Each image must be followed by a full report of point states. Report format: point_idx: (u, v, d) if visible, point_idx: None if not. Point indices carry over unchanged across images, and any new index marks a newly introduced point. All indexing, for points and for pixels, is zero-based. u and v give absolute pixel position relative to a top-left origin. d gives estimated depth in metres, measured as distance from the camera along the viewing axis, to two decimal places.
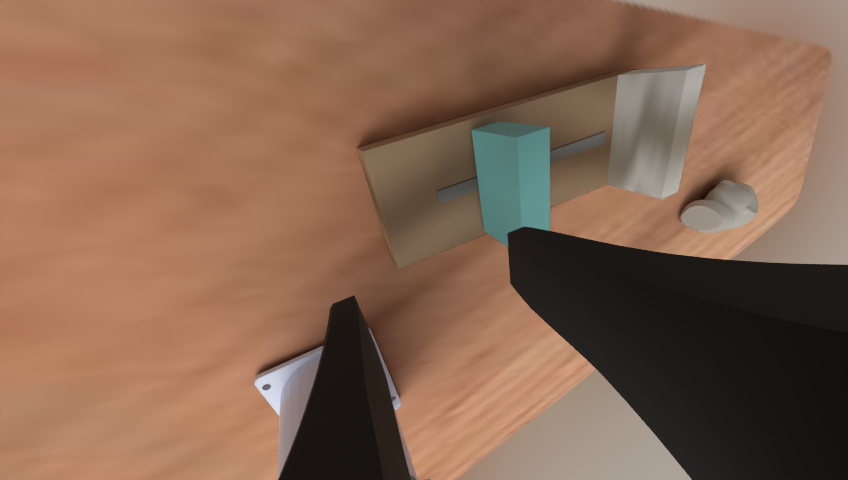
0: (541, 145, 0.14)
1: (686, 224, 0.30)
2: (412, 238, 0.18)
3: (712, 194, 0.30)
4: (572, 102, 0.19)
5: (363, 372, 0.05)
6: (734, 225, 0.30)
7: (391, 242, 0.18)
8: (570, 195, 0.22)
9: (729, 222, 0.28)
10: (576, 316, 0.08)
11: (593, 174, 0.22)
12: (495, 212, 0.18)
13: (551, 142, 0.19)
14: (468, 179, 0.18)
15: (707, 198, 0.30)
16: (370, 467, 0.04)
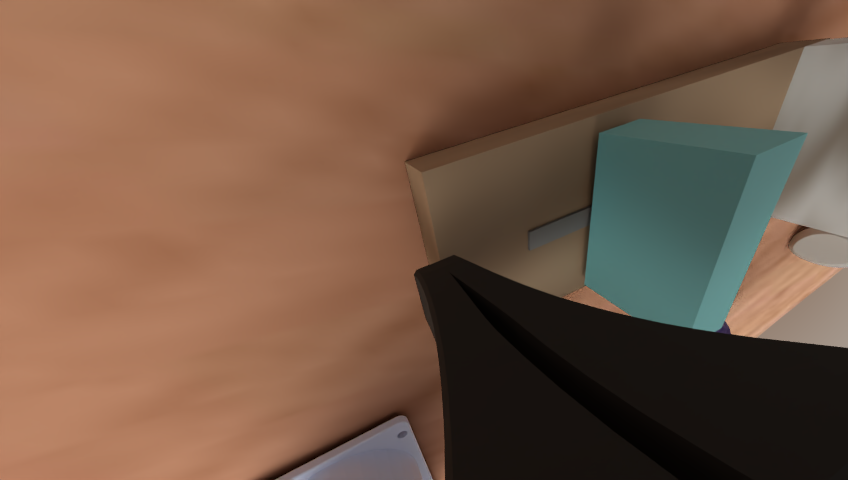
0: (781, 168, 0.07)
1: (801, 255, 0.24)
2: None
3: None
4: (737, 89, 0.12)
5: (482, 316, 0.06)
6: None
7: None
8: None
9: None
10: None
11: None
12: (625, 267, 0.11)
13: None
14: (576, 211, 0.11)
15: None
16: (535, 376, 0.04)
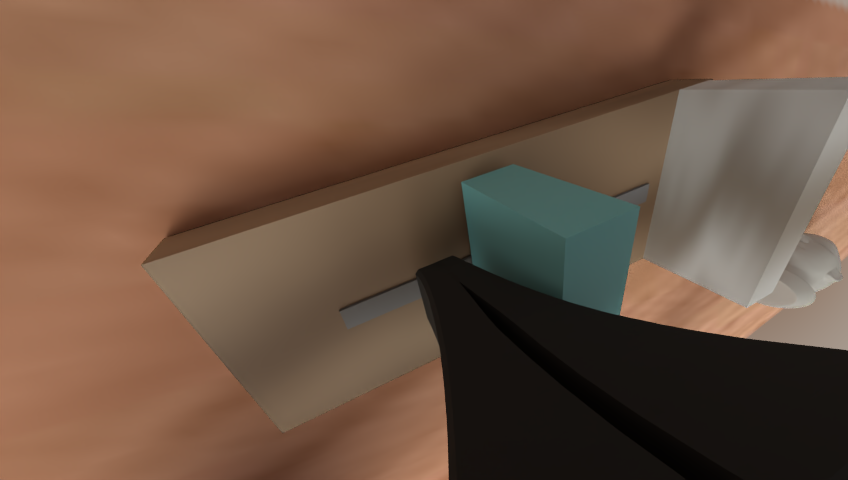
0: (616, 245, 0.06)
1: None
2: (302, 386, 0.10)
3: None
4: (597, 139, 0.10)
5: (485, 315, 0.06)
6: None
7: (258, 400, 0.10)
8: None
9: (807, 300, 0.20)
10: None
11: None
12: None
13: None
14: (403, 283, 0.10)
15: None
16: (538, 375, 0.04)
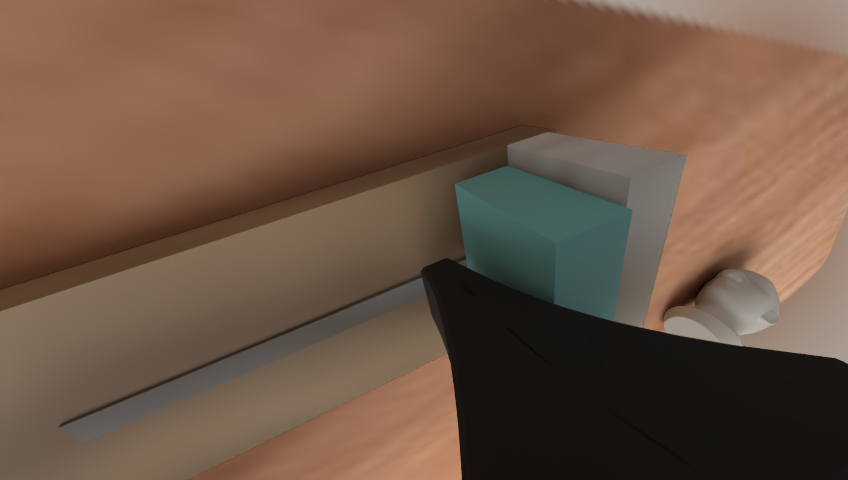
0: (608, 249, 0.06)
1: None
2: None
3: (709, 294, 0.20)
4: (400, 208, 0.09)
5: (491, 311, 0.06)
6: None
7: None
8: (441, 350, 0.12)
9: None
10: None
11: None
12: None
13: (367, 283, 0.09)
14: (153, 386, 0.08)
15: (701, 297, 0.21)
16: (547, 370, 0.04)
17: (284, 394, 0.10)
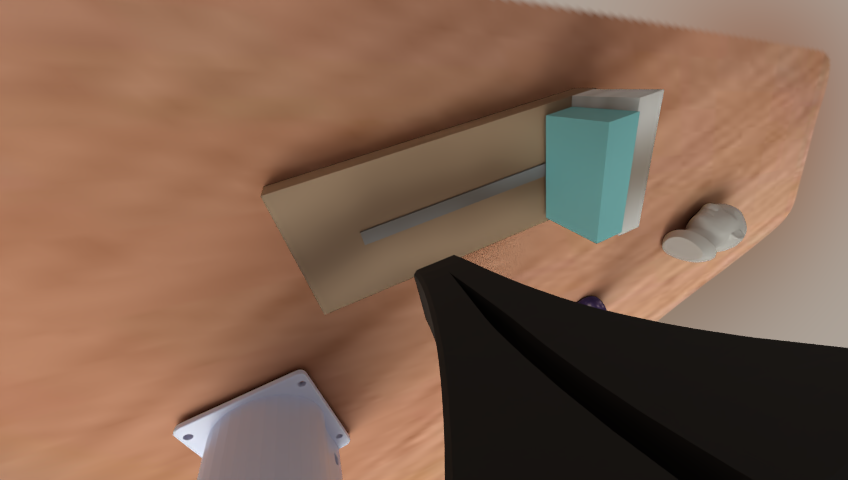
0: (629, 130, 0.14)
1: (668, 253, 0.29)
2: (337, 282, 0.17)
3: (694, 221, 0.28)
4: (518, 128, 0.17)
5: (482, 316, 0.06)
6: (721, 249, 0.29)
7: (312, 288, 0.16)
8: (524, 226, 0.20)
9: (710, 254, 0.26)
10: None
11: None
12: (565, 198, 0.18)
13: (496, 172, 0.17)
14: (398, 217, 0.16)
15: (689, 224, 0.29)
16: (535, 376, 0.04)
17: (446, 238, 0.18)
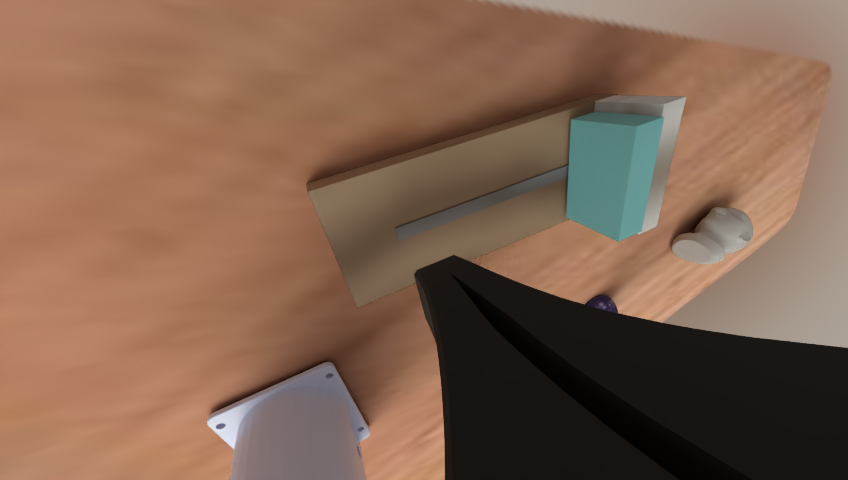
0: (654, 134, 0.15)
1: (677, 255, 0.30)
2: (371, 276, 0.17)
3: (703, 224, 0.29)
4: (544, 131, 0.18)
5: (482, 316, 0.06)
6: (728, 252, 0.30)
7: (347, 281, 0.17)
8: (545, 225, 0.21)
9: (719, 257, 0.27)
10: None
11: None
12: (587, 199, 0.18)
13: (522, 173, 0.18)
14: (430, 214, 0.17)
15: (698, 227, 0.30)
16: (535, 376, 0.04)
17: (473, 235, 0.19)
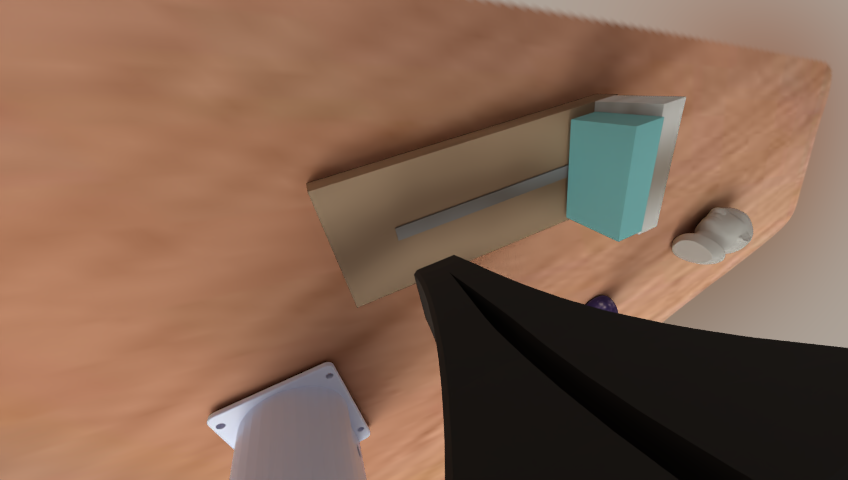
0: (654, 134, 0.15)
1: (678, 255, 0.30)
2: (371, 276, 0.17)
3: (703, 224, 0.29)
4: (544, 131, 0.18)
5: (482, 316, 0.06)
6: (728, 252, 0.30)
7: (347, 281, 0.17)
8: (545, 225, 0.21)
9: (719, 257, 0.28)
10: None
11: None
12: (587, 199, 0.18)
13: (522, 173, 0.18)
14: (430, 214, 0.17)
15: (698, 227, 0.30)
16: (535, 376, 0.04)
17: (473, 235, 0.19)
